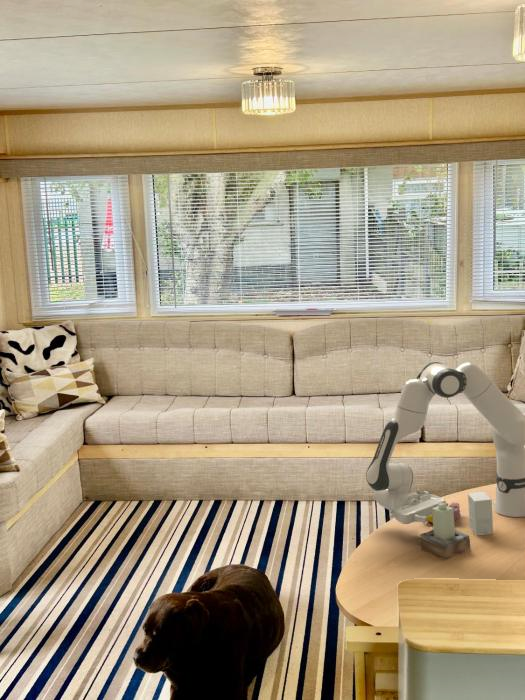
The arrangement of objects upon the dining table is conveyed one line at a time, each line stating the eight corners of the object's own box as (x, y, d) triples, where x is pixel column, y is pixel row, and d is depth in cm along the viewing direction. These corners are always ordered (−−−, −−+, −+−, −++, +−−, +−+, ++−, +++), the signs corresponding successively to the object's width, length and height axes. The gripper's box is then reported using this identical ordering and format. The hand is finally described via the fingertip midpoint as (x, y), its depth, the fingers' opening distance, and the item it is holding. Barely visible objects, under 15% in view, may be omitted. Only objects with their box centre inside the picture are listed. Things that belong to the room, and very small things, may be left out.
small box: (493, 533, 273) (492, 499, 270) (476, 535, 273) (474, 501, 270) (486, 524, 281) (484, 491, 278) (469, 526, 280) (467, 493, 278)
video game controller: (455, 528, 284) (463, 512, 282) (444, 523, 284) (451, 507, 283) (453, 517, 294) (461, 501, 292) (442, 512, 294) (450, 496, 292)
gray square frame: (445, 538, 273) (444, 524, 272) (470, 549, 263) (469, 535, 262) (420, 548, 267) (419, 534, 266) (444, 560, 257) (444, 545, 256)
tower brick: (444, 533, 268) (442, 500, 265) (454, 538, 263) (453, 504, 261) (433, 538, 265) (431, 504, 263) (444, 542, 261) (442, 508, 259)
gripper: (386, 505, 272) (413, 516, 260) (429, 489, 282) (456, 499, 270) (387, 521, 273) (414, 533, 261) (430, 505, 283) (457, 516, 271)
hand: (436, 516), depth 266 cm, fingers open, 8 cm apart
